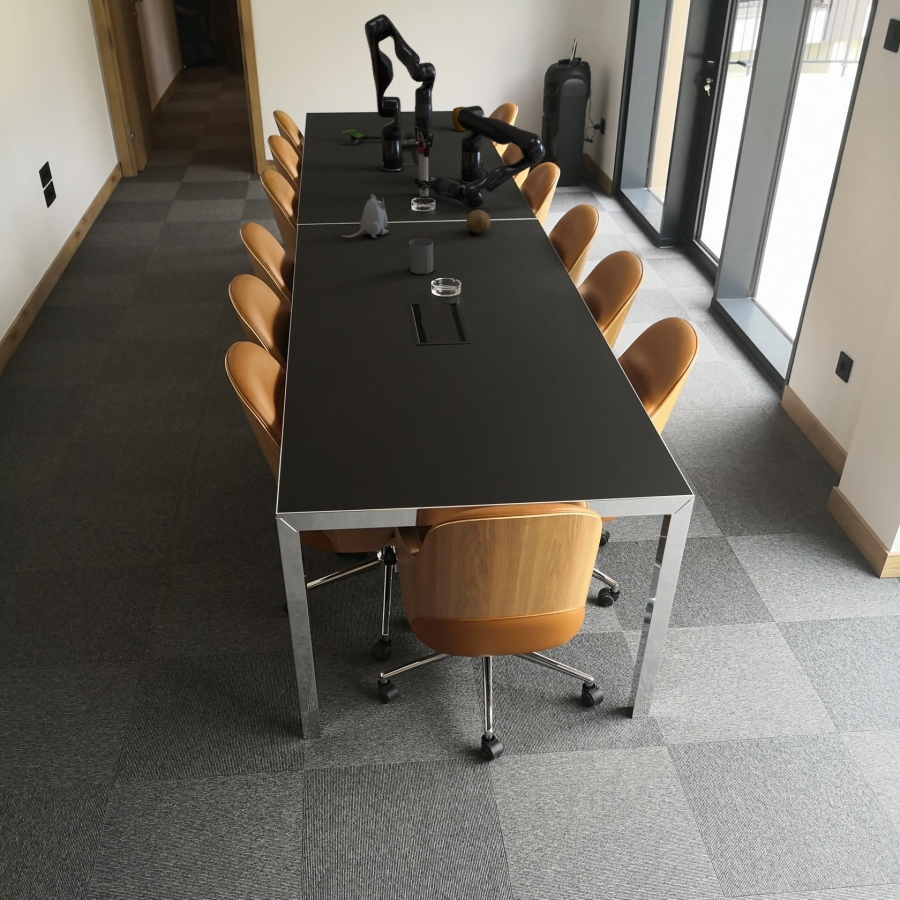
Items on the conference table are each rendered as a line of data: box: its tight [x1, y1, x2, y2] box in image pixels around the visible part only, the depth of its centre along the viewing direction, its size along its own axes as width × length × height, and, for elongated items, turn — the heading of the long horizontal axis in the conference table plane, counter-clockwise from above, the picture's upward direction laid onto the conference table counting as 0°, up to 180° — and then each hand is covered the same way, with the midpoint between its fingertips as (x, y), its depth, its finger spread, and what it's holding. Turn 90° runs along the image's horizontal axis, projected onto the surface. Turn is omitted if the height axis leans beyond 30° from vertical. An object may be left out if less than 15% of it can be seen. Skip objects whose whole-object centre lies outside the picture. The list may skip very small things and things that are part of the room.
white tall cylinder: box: [417, 153, 430, 197], centre depth 380 cm, size 4×4×19 cm
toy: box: [341, 193, 390, 239], centre depth 333 cm, size 9×24×15 cm, turn 137°
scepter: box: [340, 129, 382, 146], centre depth 465 cm, size 6×13×30 cm
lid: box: [417, 146, 431, 155], centre depth 375 cm, size 5×5×2 cm
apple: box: [451, 105, 467, 132], centre depth 487 cm, size 11×11×13 cm
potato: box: [465, 209, 492, 234], centre depth 341 cm, size 10×14×8 cm
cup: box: [408, 237, 434, 275], centre depth 305 cm, size 8×8×10 cm
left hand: (423, 155), depth 376 cm, fingers closed on lid, 5 cm apart
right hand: (419, 179), depth 384 cm, fingers closed on white tall cylinder, 4 cm apart
